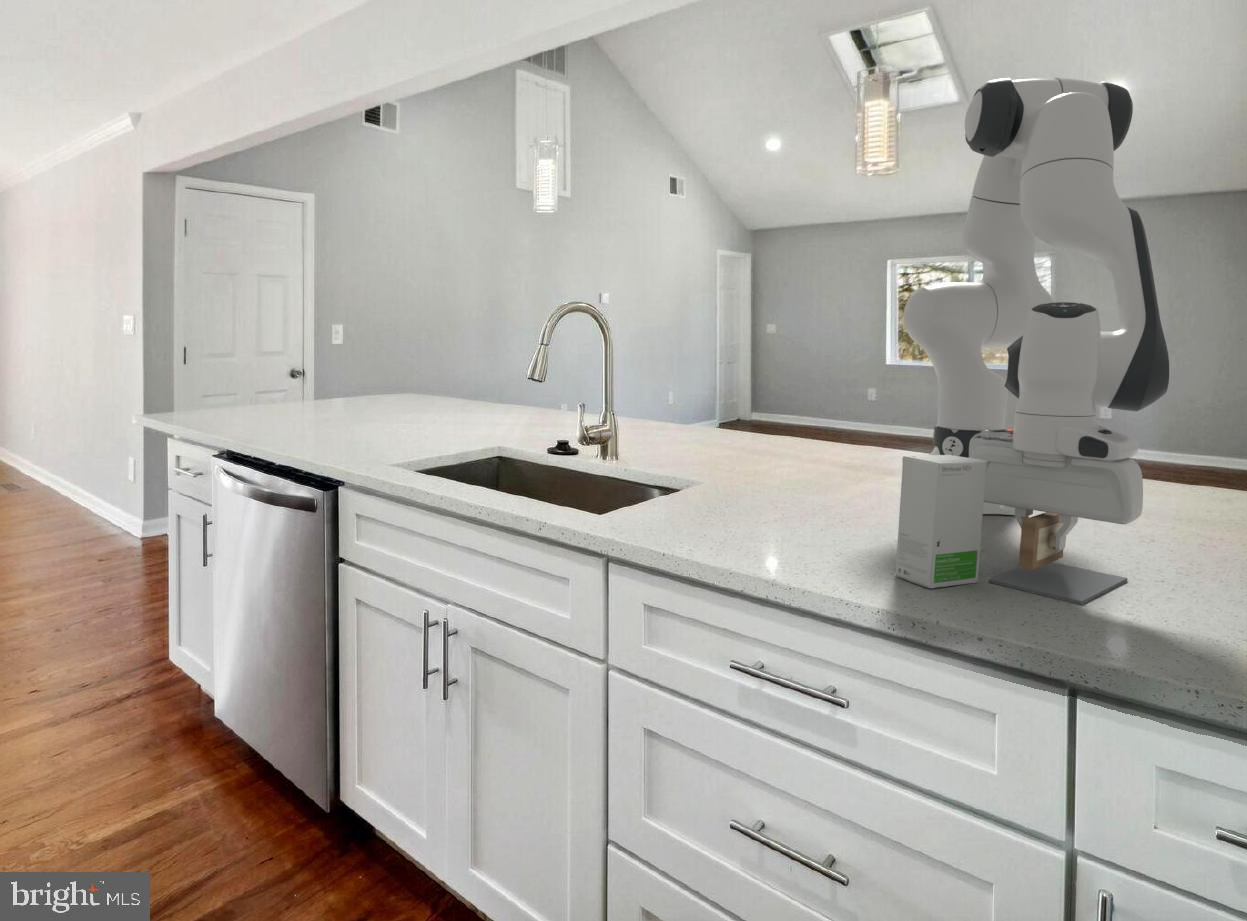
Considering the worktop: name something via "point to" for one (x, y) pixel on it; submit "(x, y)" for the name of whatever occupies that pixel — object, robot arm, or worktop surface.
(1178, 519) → the worktop surface
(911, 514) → the skincare box
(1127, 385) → the robot arm
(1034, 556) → the walnut slab
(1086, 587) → the slate mat
